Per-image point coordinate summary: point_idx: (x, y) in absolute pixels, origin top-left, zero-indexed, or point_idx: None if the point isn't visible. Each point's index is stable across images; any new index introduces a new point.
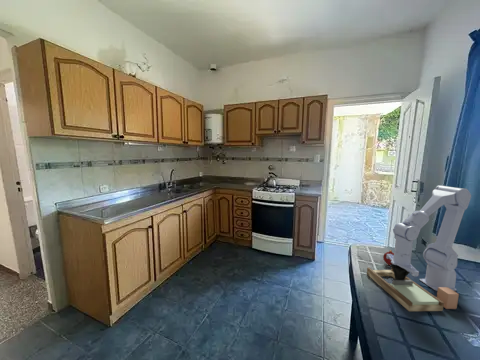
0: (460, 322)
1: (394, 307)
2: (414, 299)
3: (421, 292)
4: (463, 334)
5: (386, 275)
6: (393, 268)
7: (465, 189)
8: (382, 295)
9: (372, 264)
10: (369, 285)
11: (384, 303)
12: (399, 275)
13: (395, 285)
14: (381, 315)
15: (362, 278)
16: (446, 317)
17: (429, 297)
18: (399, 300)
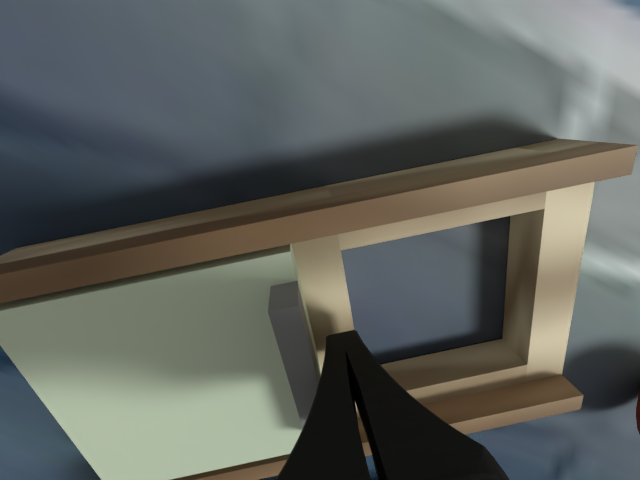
0: (57, 472)
1: (15, 147)
2: (48, 354)
3: (203, 444)
4: None
5: (509, 307)
6: (412, 444)
7: None
8: (191, 122)
9: None
10: (351, 61)
11: (39, 70)
12: (307, 423)
13: (262, 296)
14: None
15: (482, 41)
16: None
17: (146, 463)
18: (107, 235)
